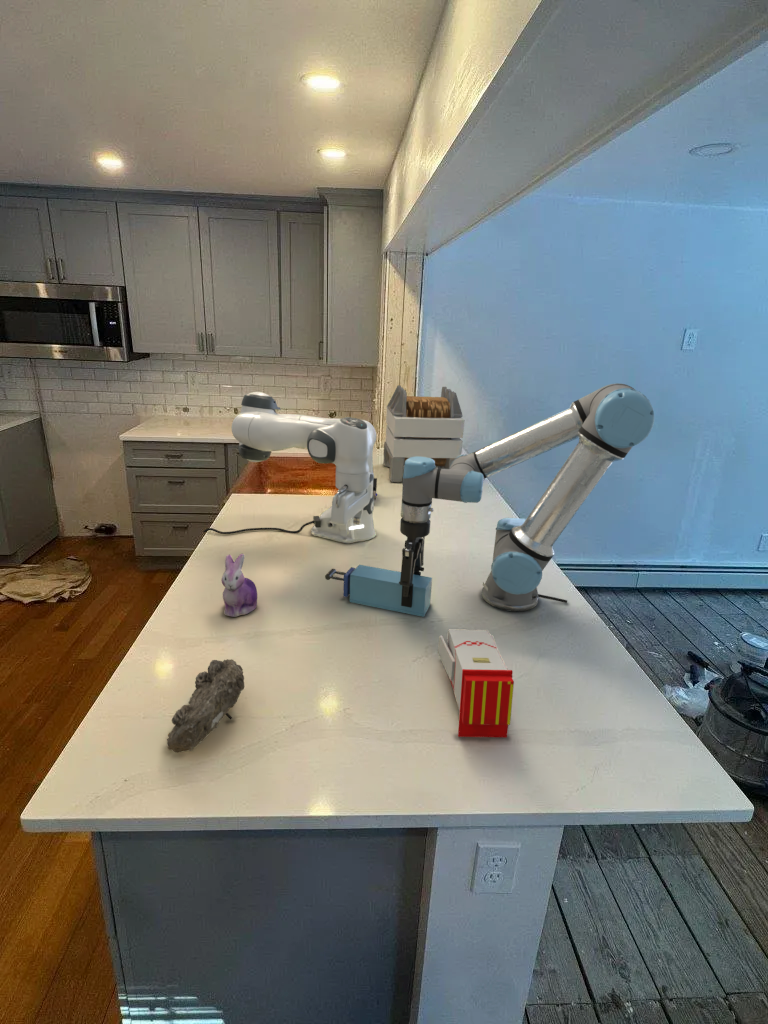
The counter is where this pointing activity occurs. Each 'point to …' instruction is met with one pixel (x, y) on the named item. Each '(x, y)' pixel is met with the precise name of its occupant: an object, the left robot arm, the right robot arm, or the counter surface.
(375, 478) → the figurine character
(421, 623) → the counter surface
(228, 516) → the counter surface
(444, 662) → the toy
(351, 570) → the drawer
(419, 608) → the light-blue storage box
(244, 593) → the figurine
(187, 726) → the fossil
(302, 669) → the counter surface
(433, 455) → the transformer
